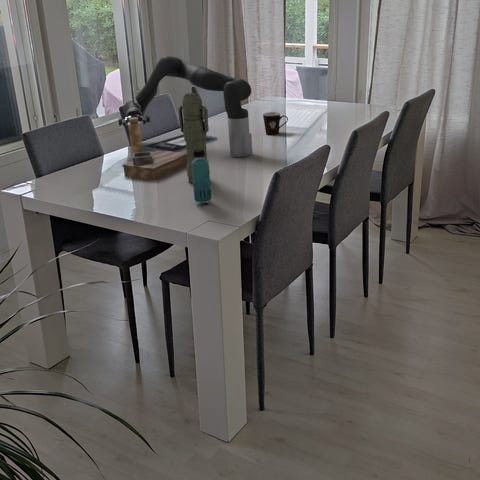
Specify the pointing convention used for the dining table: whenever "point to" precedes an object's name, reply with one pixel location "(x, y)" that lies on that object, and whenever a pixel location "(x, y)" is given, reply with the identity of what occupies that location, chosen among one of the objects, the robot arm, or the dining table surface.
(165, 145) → the sketchbook
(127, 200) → the dining table surface
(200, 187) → the beverage bottle
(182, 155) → the board with square socket
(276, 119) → the coffee mug
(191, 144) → the thermos
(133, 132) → the wooden square peg
